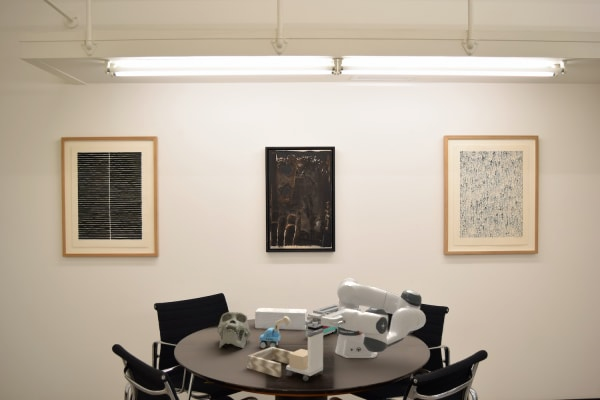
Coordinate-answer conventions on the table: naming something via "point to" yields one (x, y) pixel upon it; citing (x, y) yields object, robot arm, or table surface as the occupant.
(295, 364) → the trolley
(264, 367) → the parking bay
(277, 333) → the toy excavator
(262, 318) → the long white block
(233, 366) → the table surface
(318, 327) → the toy vehicle
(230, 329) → the skull
